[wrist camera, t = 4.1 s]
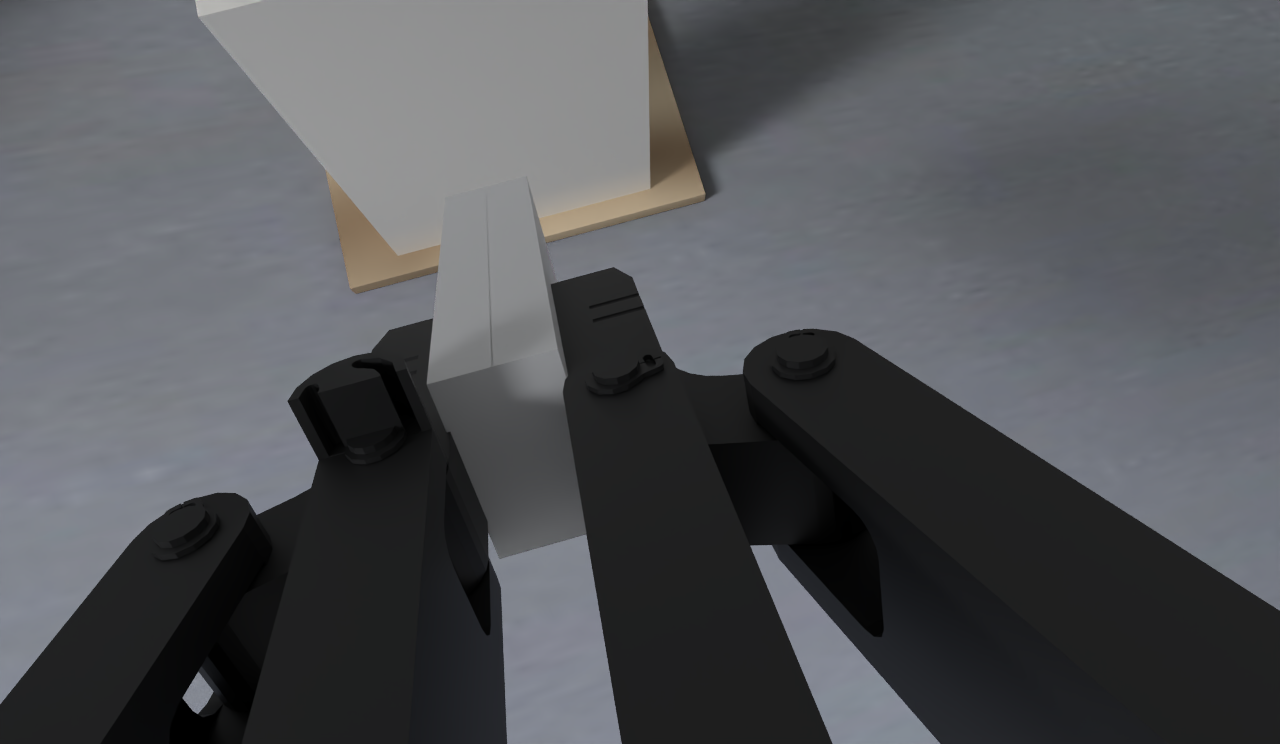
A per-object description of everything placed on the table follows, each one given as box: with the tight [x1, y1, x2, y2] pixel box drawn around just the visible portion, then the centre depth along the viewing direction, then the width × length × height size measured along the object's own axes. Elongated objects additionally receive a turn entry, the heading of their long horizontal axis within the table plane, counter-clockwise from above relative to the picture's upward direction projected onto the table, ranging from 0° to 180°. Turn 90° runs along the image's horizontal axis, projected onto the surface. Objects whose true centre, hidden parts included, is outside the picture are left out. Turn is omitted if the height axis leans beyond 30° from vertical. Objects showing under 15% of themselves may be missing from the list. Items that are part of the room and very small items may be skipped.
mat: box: [326, 17, 705, 294], centre depth 34 cm, size 18×14×1 cm
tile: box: [195, 0, 650, 256], centre depth 25 cm, size 2×10×14 cm, turn 105°
